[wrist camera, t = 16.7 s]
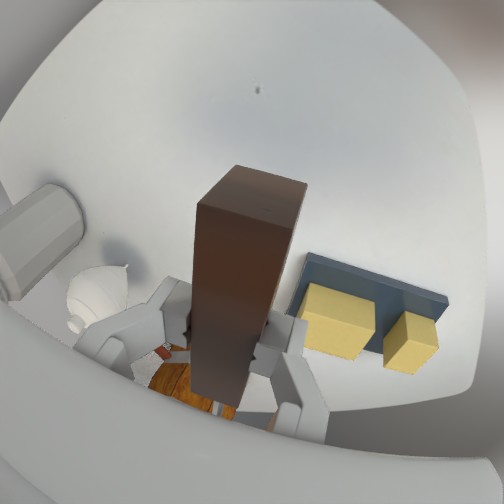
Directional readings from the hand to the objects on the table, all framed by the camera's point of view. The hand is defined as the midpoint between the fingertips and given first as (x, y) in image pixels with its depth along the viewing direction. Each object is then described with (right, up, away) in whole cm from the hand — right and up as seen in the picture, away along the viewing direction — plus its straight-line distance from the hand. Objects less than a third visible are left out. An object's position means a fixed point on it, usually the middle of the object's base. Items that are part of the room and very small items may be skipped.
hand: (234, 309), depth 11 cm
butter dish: (+13, -4, +20) cm, 24 cm away
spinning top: (-15, +1, +27) cm, 31 cm away
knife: (0, -3, +4) cm, 5 cm away
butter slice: (+18, -6, +18) cm, 26 cm away
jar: (-25, +8, +25) cm, 36 cm away
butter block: (+9, -4, +19) cm, 22 cm away
